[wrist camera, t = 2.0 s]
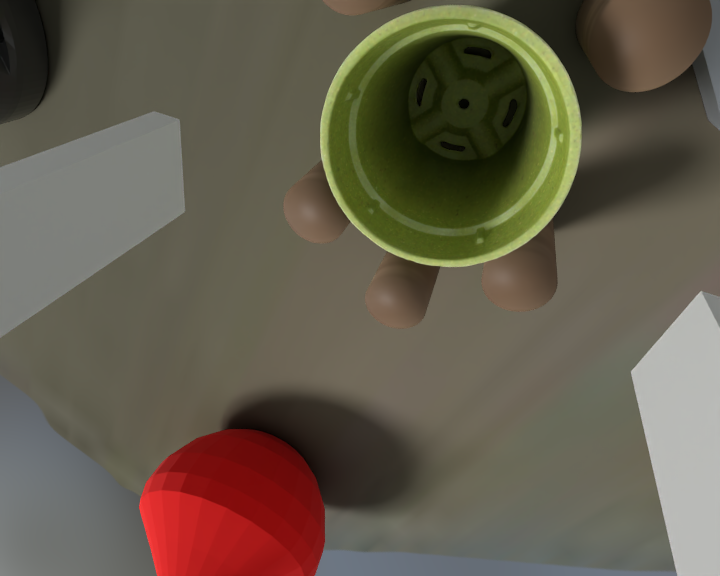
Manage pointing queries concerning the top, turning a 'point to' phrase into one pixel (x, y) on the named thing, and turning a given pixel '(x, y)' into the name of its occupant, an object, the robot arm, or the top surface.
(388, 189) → the plant pot
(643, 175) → the top surface
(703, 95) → the tray
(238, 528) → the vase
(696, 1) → the posts
